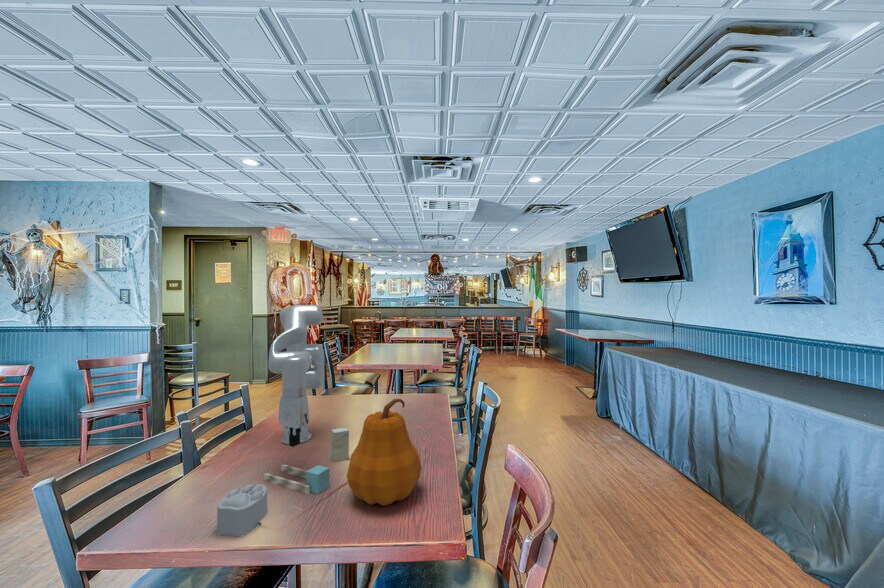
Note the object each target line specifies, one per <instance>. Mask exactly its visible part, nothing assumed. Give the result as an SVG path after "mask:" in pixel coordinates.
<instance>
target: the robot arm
mask: <svg viewBox="0 0 884 588" xmlns="http://www.w3.org/2000/svg"><path fill="white" fill-rule="evenodd" d="M323 315H324V314H323V310H322V308H321V306H320V305H317V304H295V305H294V304H293V305H290V306H287V307H283V308H281V309H280V311H279V320H280V323H281V325H282V328H283V332H282V333H279V335H278V336H277V337H276V338H275V339H274V340H273V341H272V343H271V344H270V347H269V350H268V353H269V354H268V370H269V371H270V373H273V374H276V375H279V374H282V376H281V377H282V378H281V379H282V382H281V383H282V388H281V390H282V395H281V396H280V400H279V405H278V424H279V425H281V426H283V428H282V429H281V430H280V433H281V434H283V436H282V437H281V442H282V444H284V445H288V446H289V447H291V448H295V447H296V446H298V445H300V444H302V443H306V442H308V441H309V440H311V438H312V437H313V435H312V432H309V422H310V406H309V399H308V395H307V390H312V389H320V388H322V387H323V386H324V384H325V354H324V353H325V352H324V348H323V346H322V345H321V344H319V343H308V341H307V339H308V338H307V336H308V326H319V325H321V324H322V321H323ZM284 349H286V351H283V350H284ZM311 366H313V367H311Z"/></svg>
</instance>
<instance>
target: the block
mask: <svg viewBox="0 0 884 588" xmlns="http://www.w3.org/2000/svg"><path fill="white" fill-rule="evenodd" d="M305 482H306V483H305V484H306V485H310V493H311V492H312V493H313V494H317V495H318V494H320V493H321V492H323V491H325V490H326V489H327V488H329V487H330V467H327V466H324V465H320V464H317V465H316V466H313V467H311V468H310V469H308V470H307V471H306V480H305Z"/></svg>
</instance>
